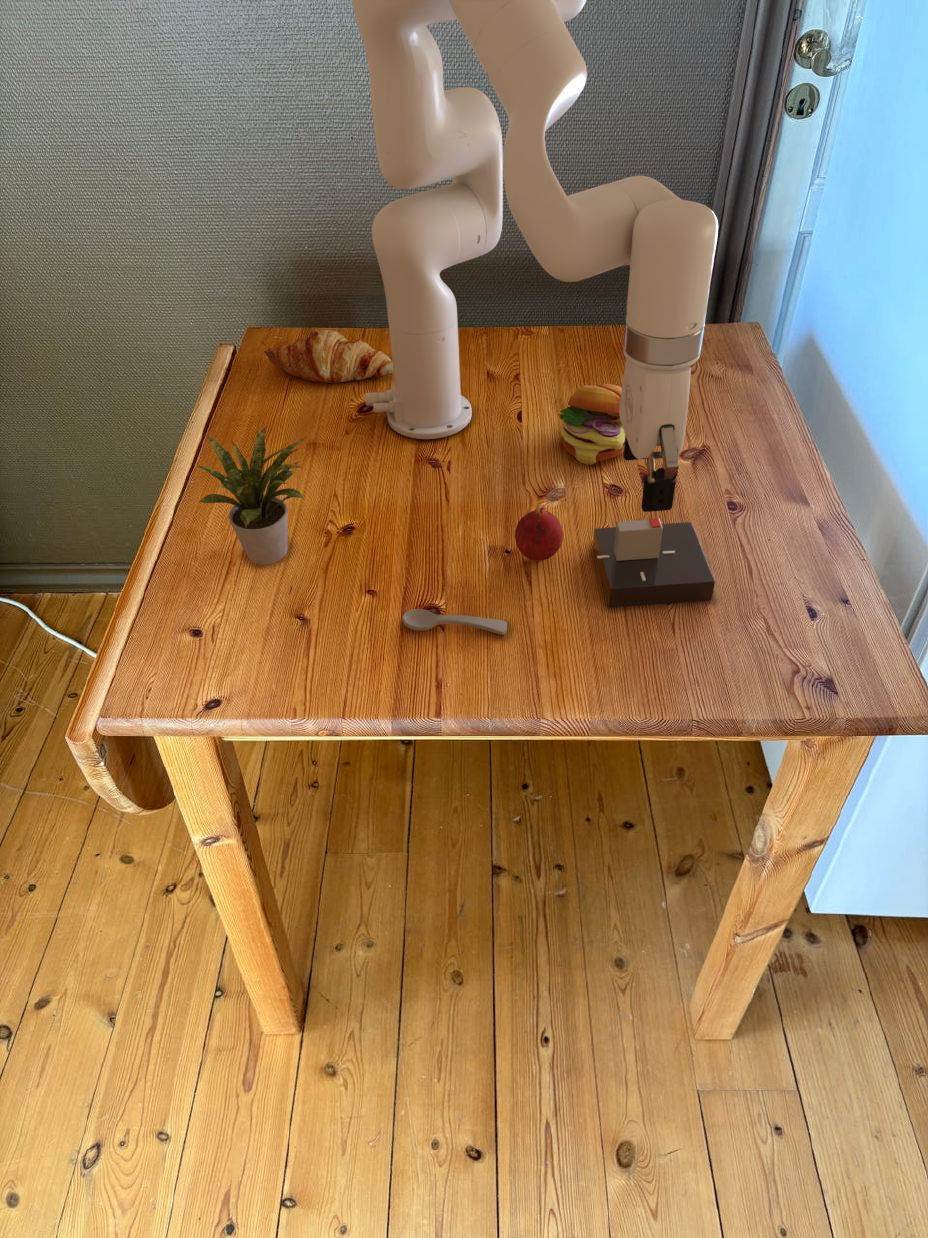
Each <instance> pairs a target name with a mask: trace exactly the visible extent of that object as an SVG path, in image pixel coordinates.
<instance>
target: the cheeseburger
mask: <svg viewBox="0 0 928 1238" xmlns="http://www.w3.org/2000/svg"><path fill="white" fill-rule="evenodd" d="M621 391H622V386H620V385H616V384H612V383H611V384H610V383H599V384H595V385H590V384H586V385H581V386H580V387H579V388H577V389H576V390H575V391H574V392H573V394H571V396H570V398H569V400H568V401H567V405H568V406H567V407H565V408H563V409H560V411H559V413H558V416H559V419H560V421H561V426H562V427H561V434H562V435H561V443H562V446H563V447H564V450H565V451H567V453H568V454H570V455H571V456H573V458H575V459H576V461H578V462H579V463H581V464H584V465H594V464H596V463H597V462H600V461H607V460H609V459H612V458H615V457H618V456H621V454H624V445H625V433H624V430H623V427H622V424H621V421H620V416H619V407H620V399H621Z"/></svg>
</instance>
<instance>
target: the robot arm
mask: <svg viewBox="0 0 928 1238" xmlns="http://www.w3.org/2000/svg"><path fill="white" fill-rule="evenodd" d="M586 3H587V0H351V6H352V11H353V15H354V19H355V22H356V26H357V28H358V31H359V35H360V38H361V41H362V44H363V48H364V52H365V56H366V59H367V67H368V74H369V75H368V76H369V88H370V98H371V109H372V119H373V129H374V130H373V131H374V139H375V149H376V155H377V156H376V157H377V163H378V167H379V170H380V173H381V175H382V177H383V179H384V181H386V183H387V184H388V185H390V186H391V187H393V188H397V189H400V190H410V189H418V188H421V187H427V186H430V185H434V184H438V183H441V182H444V181H447V180H451V183H449V184H446V185H442V186H439V187H436V188H432V189H427V190H423V191H421V192H417V193H413V194H410V195H407V196H403V197H401V198H398V199H395V200H393V201H391V202H390V203H387V204H386V205H385V206H383V207H382V208H381V209H380V210H379V211H378V212H377V214H376V215H375V217H374V219H373V222H372V225H371V239H372V244H373V248H374V252H375V255H376V259H377V262H378V266H379V270H380V274H381V278H382V283H383V288H384V295H385V296H384V297H385V303H386V312H387V320H388V321H387V322H388V332H389V343H390V353H391V361H392V363H393V372H392V374H393V382H392V388H391V389H386V391H384V392H377V391H375V392H365V393H364V395H365V396H364V401H365V407H373V413H374V414H380V413H386V419H387V423H388V425H389V427H390V428H391V429H392V430H393V431H395V432H396V433H398V434H399V435H402V436H403V437H407V438H411V439H417V440H437V439H441V438H446V437H449V436H453V435H454V434H457V433H458V432H461V431H462V430H463V429H464V428H466V427H467V426H468V425H469V423H470V422H471V420H472V417H473V409H472V405H471V403H470V401H469V400H468V399H467V398H466V397H465V396H463V395H462V394H461V391H462V390H461V368H460V367H461V366H460V347H459V346H460V345H459V344H460V343H459V322H458V307H457V301H456V297H455V295H454V293H453V291H452V290H451V288H450V287H449V286H448V285H447V284H446V282H444V281H443V280H442V278H441V272H443V270H445V269H449V268H451V267H452V266H455V265H459V264H462V263H465V262H467V261H471V260H473V259H476V258H479V257H481V256H484V255H486V254H488V253H489V252H492V250H494V249H495V247H496V246H497V245H498V243H499V241H500V239H501V236H502V230H503V221H504V217H503V216H504V215H503V214H504V191H505V196H506V200H507V201H506V202H507V205H508V207H509V210H510V213H511V215H512V218H513V219H514V221H515V223H516V225H517V227H518V229H519V231H520V233H521V235H522V237H523V239H524V240H525V242H526V244H527V246H528V247H529V249H530V251H531V253H532V254H533V256H534V258H535V259H536V261H537V262H538V264H539V265H540V266H541V268H543V270H544V271H545V272H546V273H548V274H549V275H550V276H551V277H552V278H554V279H556V280H558V281H560V282H565V283H577V282H581V281H583V280H586V279H589V278H592V277H596V276H598V275H600V274H603V273H606V272H609V271H612V270H614V269H617V268H620V267H624V266H629V276H628V287H627V297H626V311H625V324H624V337H623V347H622V353H623V355H624V357H625V363H624V368H623V376H622V383H621V388H622V391H621V399H620V407H619V416H620V421H621V424H622V427H623V430H624V433H625V445H624V452H623V459H624V460H625V461H637V460H638V461H639V460H640V461H641V460H646V470H647V477H645V478H644V479H643V488H642V495H641V505H640V507H641V510H642V512H644V513H650V512H663V511H670V510H672V509H673V505H674V497H675V489H676V485H677V484H676V482H677V481H678V476H679V474H678V473H679V468H680V458H679V455H680V454H681V453H682V452H683V447H684V443H685V438H686V437H685V436H686V430H687V421H688V412H689V411H688V410H689V402H690V388H691V372H692V371H691V369H692V365H694V364H695V363H697V362H698V361H699V359H700V357H701V354H702V346H703V338H704V332H705V326H706V318H707V310H708V304H709V297H710V290H711V282H712V277H713V270H714V263H715V256H716V249H717V242H718V235H719V234H718V233H719V222H718V218H717V216H716V214H715V212H714V211H713V210H712V209H711V208H710V207H708V206H707V205H705V204H703V203H700V202H698V201H697V202H696V201H691V200H686V199H682V198H681V197H679V196H677V194H675V193H674V192H673V191H671V190H670V189H669V188H667V186H665V185H664V184H663V183H661V182H660V181H658V180H657V179H655V178H653V177H650V176H646V175H632V176H628V177H625V178H621V179H618V180H615V181H613V182H609V183H604V184H601V185H598V186H595V187H592V188H587V189H585V190H581V191H578V192H575V193H572V194H568V195H567V194H566V192H565V191H564V189H563V187H562V185H561V183H560V181H559V180H558V178H557V176H556V174H555V171H554V170H553V168H552V165H551V162H550V160H549V157H548V153H547V148H546V147H547V146H546V131H547V130H548V129H549V128H550V127H552V126H553V125H554V124H555V123H556V122H557V121H558V120H559V119H560V118H561V117H562V116H564V115H565V113H566V112H568V110H569V109H570V108H571V107H572V106H573V105H574V103H576V101H577V100H578V98H579V97H580V95H581V93H582V91H583V90H584V88H585V86H586V83H587V80H588V79H587V78H588V69H587V65H586V62H585V61H586V60H584V58H583V55H582V54H581V52H580V50H579V48H578V46H577V44H576V43H575V41H574V38H573V37H572V35H571V34H570V31H569V29H568V28H567V26H566V24H565V23H566V22H569V21H571V20H572V19H574V18H576V16H577V15H578V14H580V13H581V12H582V10H583V9H584V6H585V5H586ZM456 20H457V22H458V24H459V25H460V27H461V29H462V32H463V33H464V35H465V37H466V39H467V40H468V43H469V44H470V46H471V48H472V50H473V52H474V54H475V56H476V58H477V60H478V61H479V63H480V65H481V67H482V69H483V71H484V73H485V74H486V77H487V79H488V80H489V82H490V85H491V86H492V88H493V89H494V93H495V94H496V97H497V98H498V100H499V102H500V104H501V105H502V107H503V108H504V111H505V113H506V114H507V118H508V125H507V131H506V135H505V139H504V145H503V133H502V127H501V122H500V119H499V116H498V113H497V111H496V108H495V106H494V104H493V103H492V101H491V99H490V97H488V96H487V95H486V94H485V93H484V92H483V91H481V90H480V89H478V88H475V87H471V86H460V87H455V88H451V89H445V88H444V67H443V66H444V65H443V58H442V54H441V50H440V48H439V45H438V44H437V42H436V40H435V38H434V36H433V35H432V33H431V32H430V30H429V28H428V27H427V26H429V25H434V24H438V23H444V22H451V21H452V22H453V21H456ZM656 447H660V449H661V451H654V450H655V448H656ZM656 459H657V460H658V459H662V463H661V467H658V468H657V469H656V465H655V463H656V462H655V460H656Z"/></svg>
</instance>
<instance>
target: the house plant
mask: <svg viewBox="0 0 928 1238" xmlns="http://www.w3.org/2000/svg"><path fill="white" fill-rule="evenodd" d="M266 428H267V426H264V427H263V428H262V430H261V431H259V428H258V429H257V430H256V436H255V441H254V446H253V451H252V455H251V458H250V463H249V464H248V462H247V459H246V458H245V456H244V454H243V453H242V452H241V451H240V449H239V447H238V445H237V444H236V443H235V442H234V441H233V440H232V439H230V440H231V441H230V442H231V445H232V447H233V449H234V453H235V455H236V457H237V460H238V463H239V465H240V468H241V469H240V468H238V465H237V464H236V462H235V460H234V458H233V457H232V455H231V454H230V452H229V451H228V450H227V449H226V448H225V447H223V446H222V445H221V444H219V442H218V441H217V440H216V439H214V438H213V437H210V436H209V435H207V439H208V441H209V443H210V445H211V447H212V448H213V450H214V452H215V455H216V456H217V458H218V459H219V461H220V463H221V465H222V467H223V469H224V472H225V474H226V476H225V475H223V474H222V472H220V471H217V470H215V469H214V468H211V467H210V466H206V465H197V467H198V468H199V469H201V470H203V471H206V472H208V474H210V475H211V476H212V477H214V478H215V479H217V480H219V481H220V483H221V485H220V484H218V485H217V487H219V488H222V489H225V490H227V491H229V492H230V493H231V494H232V495H233V496H234V497H235V498H236V500H235V499H234V498H232V497H230V496H228V495H223V494H218V493H210V494H207V495H205V496H203V498H202V499H201V500H200V501H199V502H198V503H204V504H220V503H221V504H229V505H233V506H232V507H231V508H230V511H229V513H228V520H229V523H230V525H231V527H232V529H233V531H234V532H235V535H236V536H237V537H236V538H237V539H238V541H239V543H240V545H241V546H242V549H243V551H244V552H245V553H244V554H246V556H247V559H249V561H250V562H251V563H253V564H256V565H261V566H265V565H266V566H267V565H272V564H275V563H277V562H279V561H281V560H282V559H284V557H286V555H287V553H288V550H289V549H288V548H289V546H288V545H289V543H288V535H289V534H288V532H289V531H288V507H287V504H286V502H284V501H286V500H288V499H291V498H296V499H297V498H298V499H303V500H304V501H306V499H305V498H304V496H303V495H302V493H301V492H300V491H299V490H297V489H295V488H289V487H288V488H281V489H279V487H281V486H282V485H288V483H287V482H286V481H288V479H290V478H291V477H292V476H293V474H295V473H296V471H294V470H293V471H291V470H290V469H300V468H301V469H303V467H302V466H299V465H297V464H299V463H300V461H297V462H293V463H285V461H286V460H287V459H288V458H289V456H290V455H291V454H293V453H295V452H297V451H298V450H299V448H295V447H296V446H297V445H299V444H300V443H302V442H303V441H305V439H306V438H307V436H306V437H303V438H300V439H298V440H296V441H294V442H292V443H291V444H289V445H288V446H286V447H285V448H282V449H279V450H277V451H275V452H273V453H271V454H270V455H268V456H267V457H266V452H267V447H266V441H265V440H266V434H267V429H266ZM275 456H276V458H275V459H274V460H273V461H272V463H271V464H270V465H269V466H268V467H267V468H266V469H265V470H264V469H263V468H264V465H265V464H266V463H267V462H269V460H270V459H272V458H273V457H275ZM265 457H266V458H265ZM283 463H284V464H283ZM263 470H264V472H263ZM278 489H279V490H278ZM280 496H285V497H284V498H283V499H281V498H279V497H280Z"/></svg>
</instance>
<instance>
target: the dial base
mask: <svg viewBox="0 0 928 1238" xmlns="http://www.w3.org/2000/svg"><path fill="white" fill-rule="evenodd" d="M661 525H662V528H663V530H662V537H661V544H660V551H659V557H658V558H651V559H637V560H623V561H616V557H615V554H614V544H615V534H616V526H614V527H601V528H598V527H597V528H594V531H593V543H592V549H593V553H594V557H595V560H596V564H597V568H598V571H599V576H600V579H601V583H602V588H603V590H604V595H605V599H606V602H607V606H608V608H609V609H610V608H626V607H639V606H652V605H666V604H679V603H680V604H681V603H695V602H709V601H712V598H713V593H714V588H715V584H716V580H715V578H714V575H713V573H712V570H711V567H710V565H709V563H708V560H707V557H706V554H705V552H704V549H703V547H702V545H701V543H700V539H699V537H698V534H697V531H696V529H695V527H694V524H693V522H692V521H685V522H684V521H683V522H671V523H670V522H669V523H661Z"/></svg>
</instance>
